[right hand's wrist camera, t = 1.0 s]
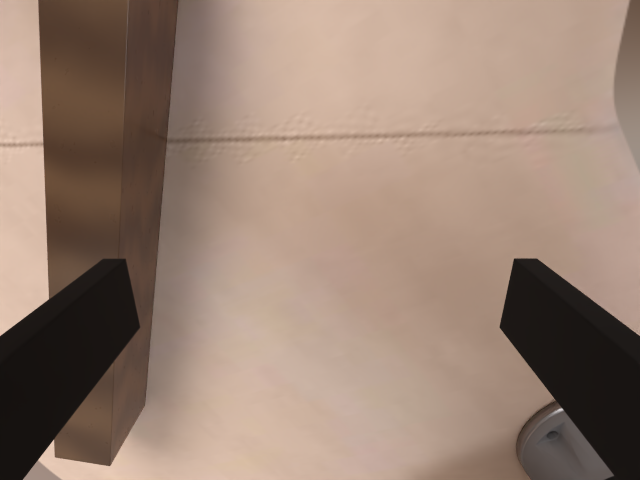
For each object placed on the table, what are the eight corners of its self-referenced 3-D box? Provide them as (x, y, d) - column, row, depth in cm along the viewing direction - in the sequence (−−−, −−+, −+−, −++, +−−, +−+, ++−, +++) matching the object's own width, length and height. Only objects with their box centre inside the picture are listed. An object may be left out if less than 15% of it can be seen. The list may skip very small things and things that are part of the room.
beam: (144, 405, 46) (110, 466, 38) (98, 397, 45) (54, 457, 38) (186, -99, 28) (136, -172, 20) (110, -121, 27) (30, -204, 20)
